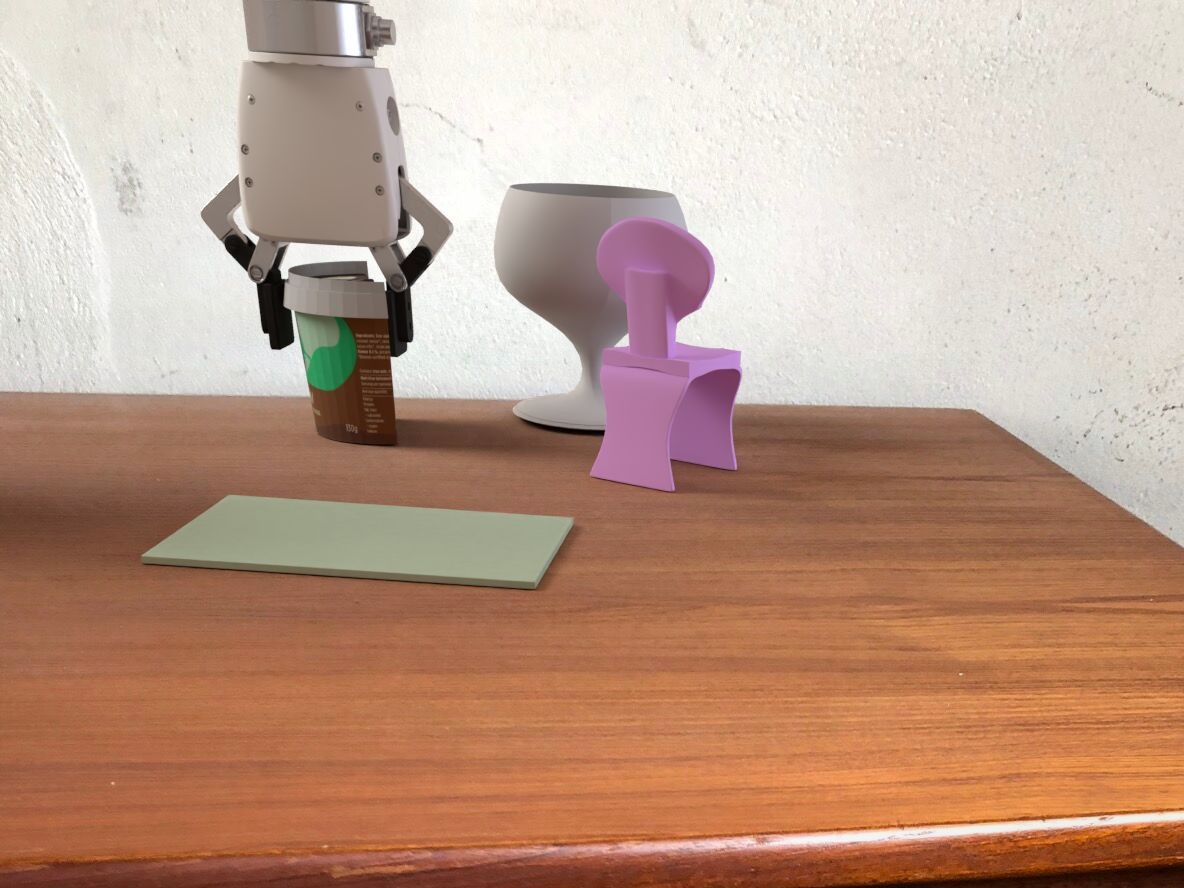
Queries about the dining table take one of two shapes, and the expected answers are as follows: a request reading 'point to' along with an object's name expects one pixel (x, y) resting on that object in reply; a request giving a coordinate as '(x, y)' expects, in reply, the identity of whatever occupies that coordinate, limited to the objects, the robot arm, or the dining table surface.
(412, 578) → the mat
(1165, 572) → the dining table surface
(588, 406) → the chalice
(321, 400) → the food container
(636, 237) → the toy chair
